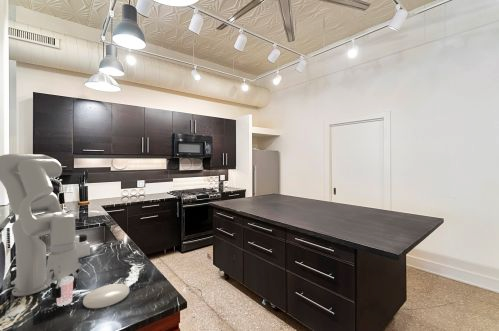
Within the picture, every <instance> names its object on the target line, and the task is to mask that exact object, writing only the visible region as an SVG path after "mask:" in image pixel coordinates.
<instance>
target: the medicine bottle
mask: <svg viewBox="0 0 499 331" xmlns="http://www.w3.org/2000/svg"><path fill="white" fill-rule="evenodd" d="M75 240H76V248H77V252H78V259H81V258H84V257H87V256H91V243H90V242H88V235H87V234H85V233H84V234H83V233H82V234H81V233H80V234H77V235H75Z"/></svg>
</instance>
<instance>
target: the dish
mask: <svg viewBox="0 0 499 331" xmlns="http://www.w3.org/2000/svg"><path fill="white" fill-rule="evenodd" d="M129 294H130V287H129V286H128V285H127V284H125V283H113V284H108V285H107V284H106V285H103V286H99V287H97V288H95V289H93V290H91V291H90V292H88V293H87V294H86V295H85V296H84V297H83V300H82V304H83V306H84V307H85V308H88V309H102V308H106V307H109V306H113V305H115V304H117V303H119V302H121V301H123V300H125V299H126V297H127V296H128V295H129Z"/></svg>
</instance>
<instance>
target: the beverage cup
mask: <svg viewBox="0 0 499 331" xmlns="http://www.w3.org/2000/svg"><path fill="white" fill-rule="evenodd" d="M73 281H74V277H73V276H66V277H64V278H62V279H61V282H60V286H59V287H61V297H60V298H56V306H57V307H64V306H67V305H69V304H71V303H72V302H73V292H74V288H73ZM56 283H57V281H55V284H56ZM63 305H64V306H63Z"/></svg>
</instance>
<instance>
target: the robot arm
mask: <svg viewBox="0 0 499 331" xmlns="http://www.w3.org/2000/svg"><path fill="white" fill-rule="evenodd" d="M62 173H63V167H62V164H61V163H60V162H59V161H58V160H57V159H55V158H54V157H51V156H49V155H45V154H39V153H38V154H37V153H36V154H34V153H33V154H32V153H7V154H6V153H5V154H3V155H0V183H2V185H3V186H4V188H5V192H6V195H7V198H8V203H9V205H10V208H11V210H12V211H11V212H12V213H13V214H15V215H16V216H18V219H16V220H15V221H14V222H13V223H12V226H11V231H12V234H13V238H14V239H13V240H14V243H15V256H16V258H15V261H16V267H15V268H16V277H15V278H14V280H12V281H11V282H10V284H11V285H14V288H13V289H12V290H11V295H12V296H14V297H25V296H30V295H34V294H37V293H39V292H41V291H44V290H46V289H48V288H50V289H51V297H52V299H57V298H60V297H61V287H59V286H60V282H61V279H62V278H64V277H66V276H73V277H74V281H73V289H76V288H77V277H78V273H79V272H80V270H81V267H82V266H83V265H82V263H81V262H79V258H78V252H77V248H76V240H75V236H76V217H75V215H74V214H70V213H67V212H65V211H62V210H63V209H62V207H61V204H60V201H59V198H58V196H57V194H56V193H54V192H53V191H54V186H53V184H52V181H51V179H52V178H58V177H60V176H61V175H62ZM46 235H50V253H49V254H48V257H47V246H46V243H45V242H44V241H43V240H42V239H40V237H43V236H46ZM55 281H57V283H56V284H55Z"/></svg>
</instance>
